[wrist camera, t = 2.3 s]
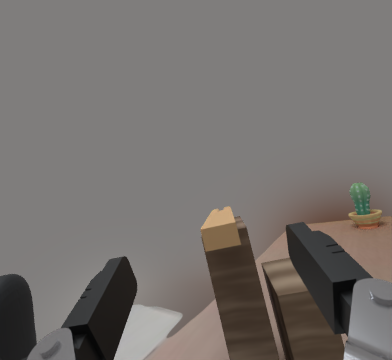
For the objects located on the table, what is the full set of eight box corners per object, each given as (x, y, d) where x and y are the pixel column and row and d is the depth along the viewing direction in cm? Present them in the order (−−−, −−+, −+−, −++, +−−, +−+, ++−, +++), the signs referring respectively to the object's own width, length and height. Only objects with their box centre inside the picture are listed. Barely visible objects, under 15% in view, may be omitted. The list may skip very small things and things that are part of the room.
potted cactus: (394, 224, 113) (380, 178, 115) (371, 231, 109) (357, 184, 111) (365, 222, 128) (354, 182, 130) (345, 228, 125) (333, 187, 126)
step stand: (372, 450, 28) (307, 214, 31) (253, 459, 30) (201, 237, 33) (323, 364, 42) (281, 207, 45) (244, 374, 44) (208, 223, 47)
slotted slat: (241, 244, 23) (235, 222, 23) (205, 251, 24) (200, 229, 24) (232, 217, 47) (230, 206, 47) (215, 221, 47) (212, 210, 48)
